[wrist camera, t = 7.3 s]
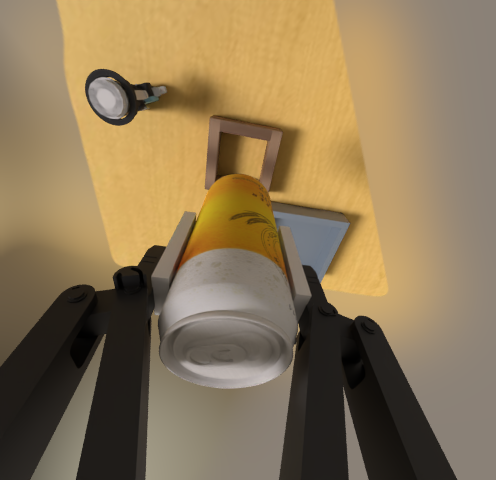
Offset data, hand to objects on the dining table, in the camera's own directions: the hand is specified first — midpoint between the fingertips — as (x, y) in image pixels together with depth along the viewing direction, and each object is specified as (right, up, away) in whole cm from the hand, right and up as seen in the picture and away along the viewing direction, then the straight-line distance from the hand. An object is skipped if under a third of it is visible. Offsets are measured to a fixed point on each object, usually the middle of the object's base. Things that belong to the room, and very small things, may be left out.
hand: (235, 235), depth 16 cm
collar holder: (0, +14, +21) cm, 25 cm away
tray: (+10, -1, +30) cm, 32 cm away
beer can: (0, +3, +5) cm, 6 cm away
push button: (-14, +21, +16) cm, 30 cm away
